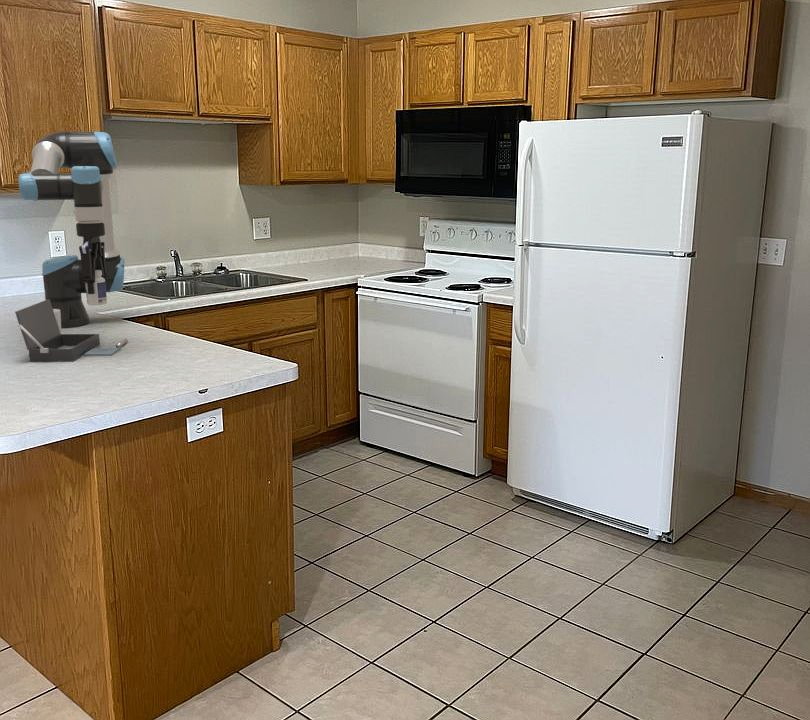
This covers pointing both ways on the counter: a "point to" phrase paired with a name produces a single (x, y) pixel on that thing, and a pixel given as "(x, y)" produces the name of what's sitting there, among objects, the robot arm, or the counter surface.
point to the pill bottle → (100, 288)
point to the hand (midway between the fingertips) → (97, 303)
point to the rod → (122, 343)
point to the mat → (102, 352)
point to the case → (51, 336)
